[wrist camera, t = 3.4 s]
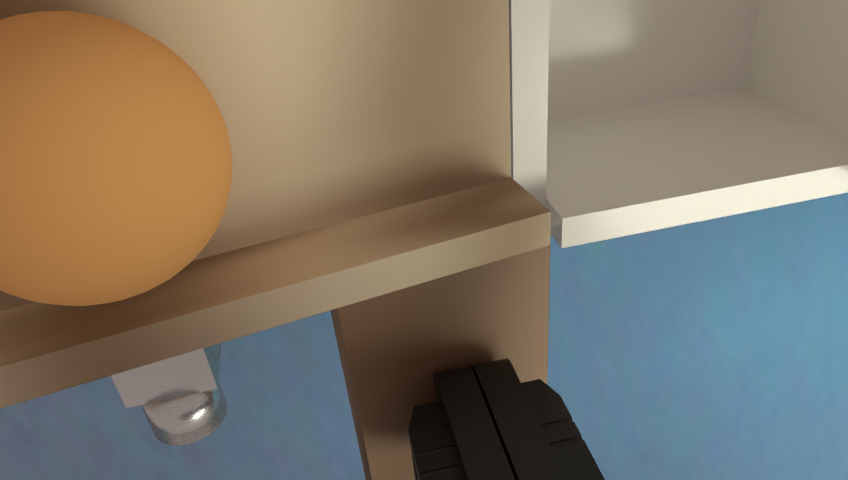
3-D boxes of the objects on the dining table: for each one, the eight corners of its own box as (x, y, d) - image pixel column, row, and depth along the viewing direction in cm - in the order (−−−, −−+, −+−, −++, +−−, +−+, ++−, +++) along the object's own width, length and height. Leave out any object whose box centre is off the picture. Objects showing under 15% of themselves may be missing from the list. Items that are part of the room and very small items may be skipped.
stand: (210, -326, 13) (143, -547, 6) (316, 200, 20) (347, 408, 12) (-110, -305, 12) (-661, -530, 5) (111, 236, 19) (15, 482, 11)
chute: (428, -196, 12) (561, -222, 8) (465, 343, 18) (545, 461, 15) (-698, -94, 8) (-1433, -55, 4) (-123, 537, 15) (-208, 760, 11)
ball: (-281, 79, 6) (-22, -8, 9) (-79, 371, 7) (77, 217, 10) (95, 52, 5) (231, -28, 8) (209, 365, 7) (286, 209, 10)
